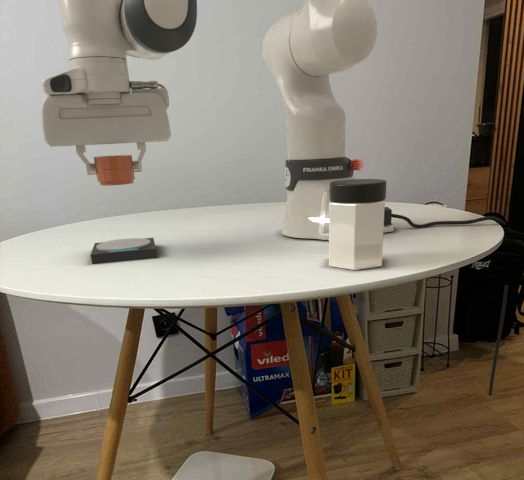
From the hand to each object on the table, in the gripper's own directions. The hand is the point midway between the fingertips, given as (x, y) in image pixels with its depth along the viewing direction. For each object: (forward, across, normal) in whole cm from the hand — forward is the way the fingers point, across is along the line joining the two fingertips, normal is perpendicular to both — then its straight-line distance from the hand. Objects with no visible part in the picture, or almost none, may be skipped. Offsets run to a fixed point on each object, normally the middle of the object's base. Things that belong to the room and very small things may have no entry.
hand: (115, 173), depth 86 cm
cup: (+2, 0, 0) cm, 2 cm away
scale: (+14, 0, -1) cm, 14 cm away
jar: (+14, -34, +23) cm, 44 cm away
